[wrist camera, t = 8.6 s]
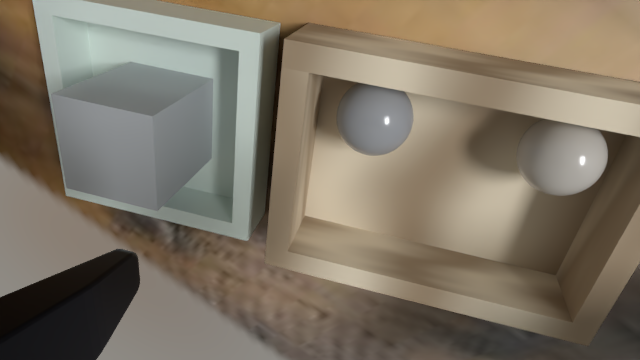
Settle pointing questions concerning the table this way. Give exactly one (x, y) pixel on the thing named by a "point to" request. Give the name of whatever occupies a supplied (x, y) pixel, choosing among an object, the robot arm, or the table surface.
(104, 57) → the tub
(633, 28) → the table surface
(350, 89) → the grey ball
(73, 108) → the stone block
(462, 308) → the crate
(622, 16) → the table surface
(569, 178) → the grey ball
